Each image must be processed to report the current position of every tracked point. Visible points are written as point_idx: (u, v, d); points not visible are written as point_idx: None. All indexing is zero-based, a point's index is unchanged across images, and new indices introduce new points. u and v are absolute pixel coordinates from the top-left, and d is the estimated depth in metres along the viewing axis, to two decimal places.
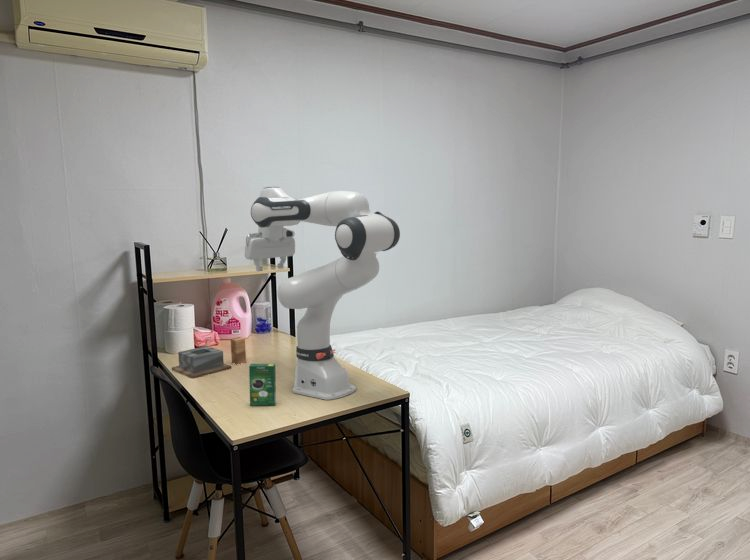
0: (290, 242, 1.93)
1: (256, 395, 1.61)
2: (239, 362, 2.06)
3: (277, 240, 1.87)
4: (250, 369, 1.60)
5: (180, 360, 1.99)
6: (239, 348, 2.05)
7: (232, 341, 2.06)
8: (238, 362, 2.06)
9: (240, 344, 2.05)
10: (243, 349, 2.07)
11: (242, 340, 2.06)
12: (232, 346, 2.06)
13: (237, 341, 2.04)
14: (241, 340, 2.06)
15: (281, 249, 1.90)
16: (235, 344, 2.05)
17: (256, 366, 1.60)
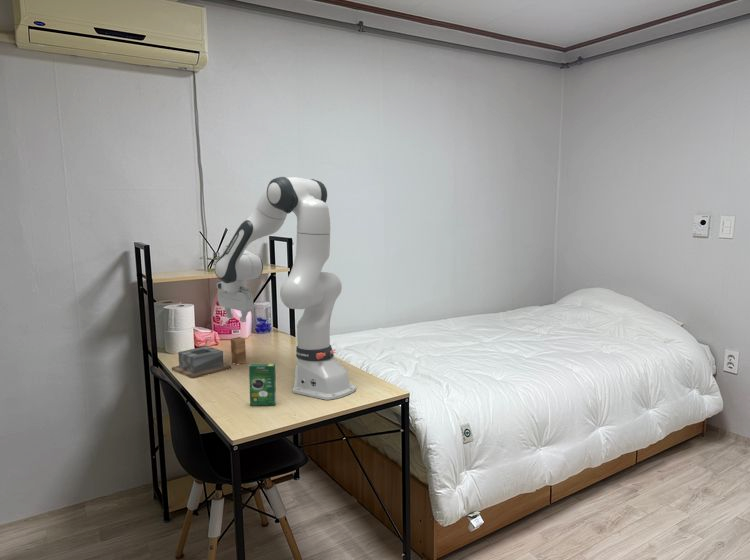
0: None
1: (256, 395, 1.61)
2: (239, 362, 2.06)
3: None
4: (250, 369, 1.60)
5: (180, 360, 1.99)
6: (239, 348, 2.05)
7: (232, 341, 2.06)
8: (238, 362, 2.06)
9: (240, 344, 2.05)
10: (243, 349, 2.07)
11: (242, 340, 2.06)
12: (232, 346, 2.06)
13: (237, 341, 2.04)
14: (241, 340, 2.06)
15: None
16: (235, 344, 2.05)
17: (256, 366, 1.60)
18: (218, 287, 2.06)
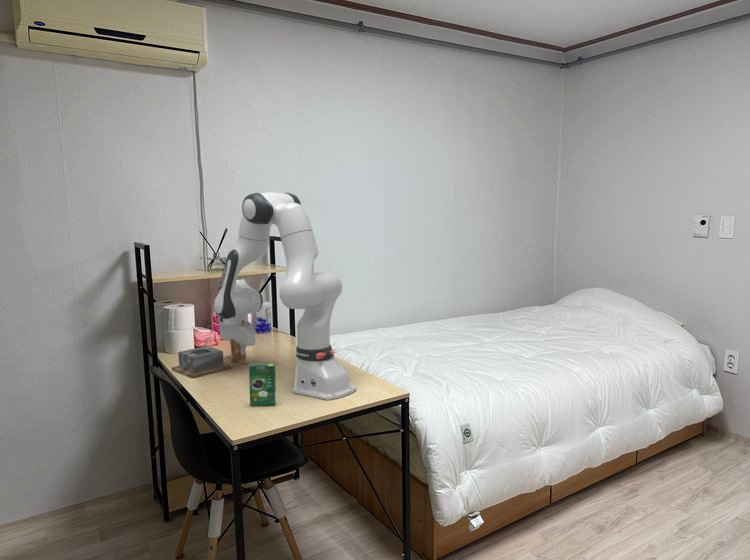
0: None
1: (256, 395, 1.61)
2: (239, 362, 2.06)
3: None
4: (250, 369, 1.60)
5: (180, 360, 1.99)
6: (239, 348, 2.05)
7: (232, 341, 2.06)
8: (238, 362, 2.06)
9: None
10: None
11: None
12: (232, 346, 2.06)
13: None
14: None
15: None
16: (235, 344, 2.05)
17: (256, 366, 1.60)
18: (220, 320, 2.08)
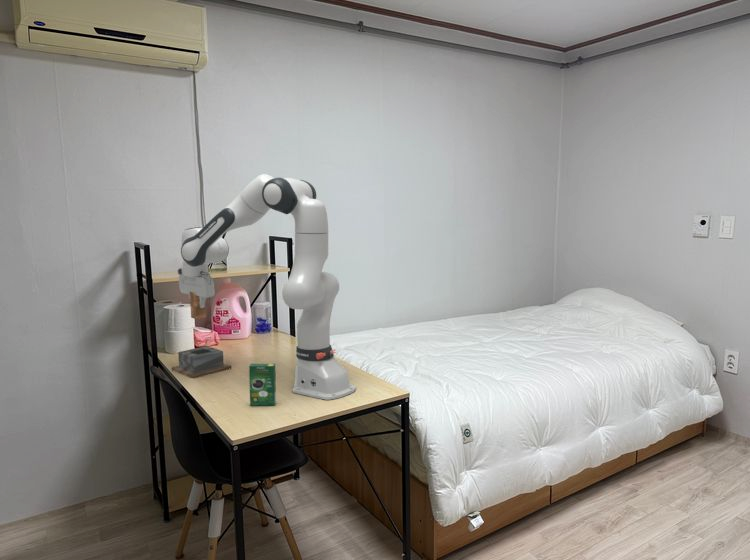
0: None
1: (256, 395, 1.61)
2: (198, 316, 1.96)
3: None
4: (250, 369, 1.60)
5: (180, 360, 1.99)
6: (198, 301, 1.95)
7: (191, 294, 1.96)
8: (197, 316, 1.95)
9: None
10: None
11: None
12: (191, 299, 1.96)
13: None
14: None
15: None
16: (194, 297, 1.94)
17: (256, 366, 1.60)
18: (179, 273, 1.98)
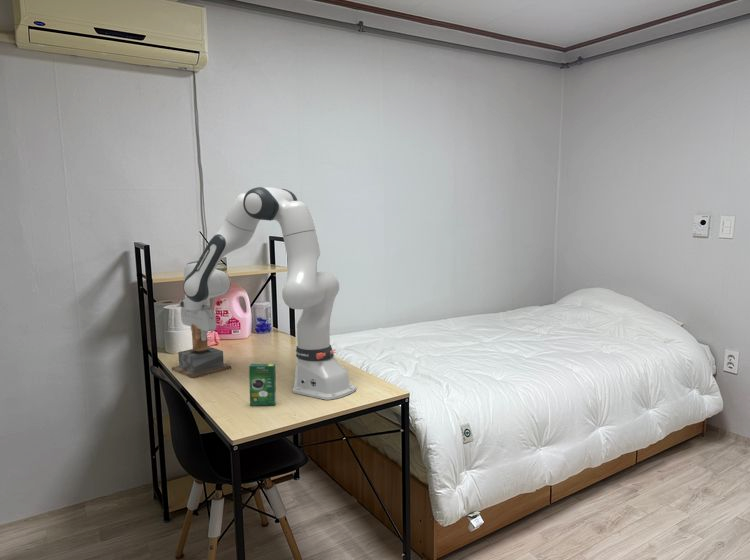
0: None
1: (256, 395, 1.61)
2: (200, 348, 1.97)
3: None
4: (250, 369, 1.60)
5: (180, 360, 1.99)
6: (200, 334, 1.97)
7: (192, 326, 1.98)
8: (199, 348, 1.97)
9: (200, 329, 1.97)
10: None
11: None
12: (193, 332, 1.98)
13: None
14: None
15: None
16: (196, 329, 1.96)
17: (256, 366, 1.60)
18: (181, 305, 2.00)
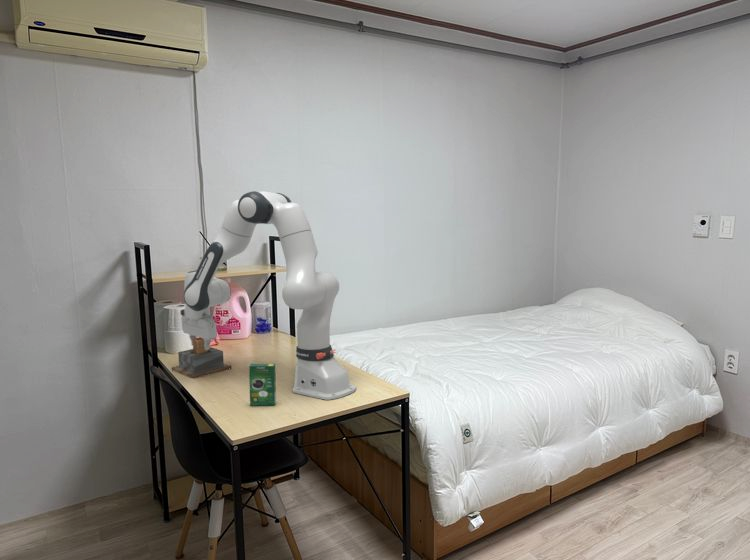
0: None
1: (256, 395, 1.61)
2: None
3: None
4: (250, 369, 1.60)
5: (180, 360, 1.99)
6: (201, 349, 1.98)
7: (193, 341, 1.98)
8: None
9: (202, 344, 1.98)
10: None
11: None
12: (194, 346, 1.98)
13: (199, 341, 1.97)
14: (203, 340, 1.98)
15: None
16: (197, 344, 1.97)
17: (256, 366, 1.60)
18: (181, 314, 2.00)
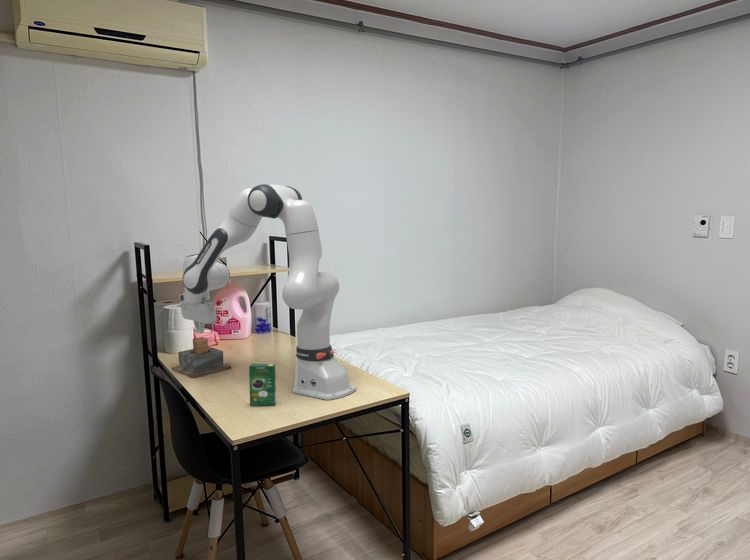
0: None
1: (256, 395, 1.61)
2: None
3: None
4: (250, 369, 1.60)
5: (180, 360, 1.99)
6: (201, 349, 1.97)
7: (194, 341, 1.98)
8: None
9: (202, 344, 1.98)
10: (206, 350, 1.99)
11: (204, 340, 1.98)
12: (194, 346, 1.98)
13: (199, 341, 1.97)
14: (203, 340, 1.98)
15: None
16: (197, 344, 1.97)
17: (256, 366, 1.60)
18: (180, 299, 1.99)
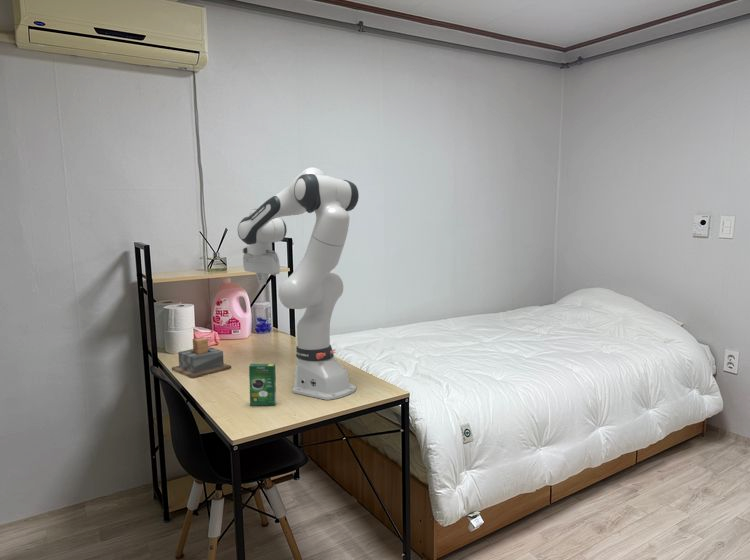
0: None
1: (256, 395, 1.61)
2: None
3: None
4: (250, 369, 1.60)
5: (180, 360, 1.99)
6: (201, 349, 1.97)
7: (194, 341, 1.98)
8: None
9: (202, 344, 1.98)
10: (206, 350, 1.99)
11: (204, 340, 1.98)
12: (194, 346, 1.98)
13: (199, 341, 1.97)
14: (203, 340, 1.98)
15: None
16: (197, 344, 1.97)
17: (256, 366, 1.60)
18: (244, 252, 2.09)
